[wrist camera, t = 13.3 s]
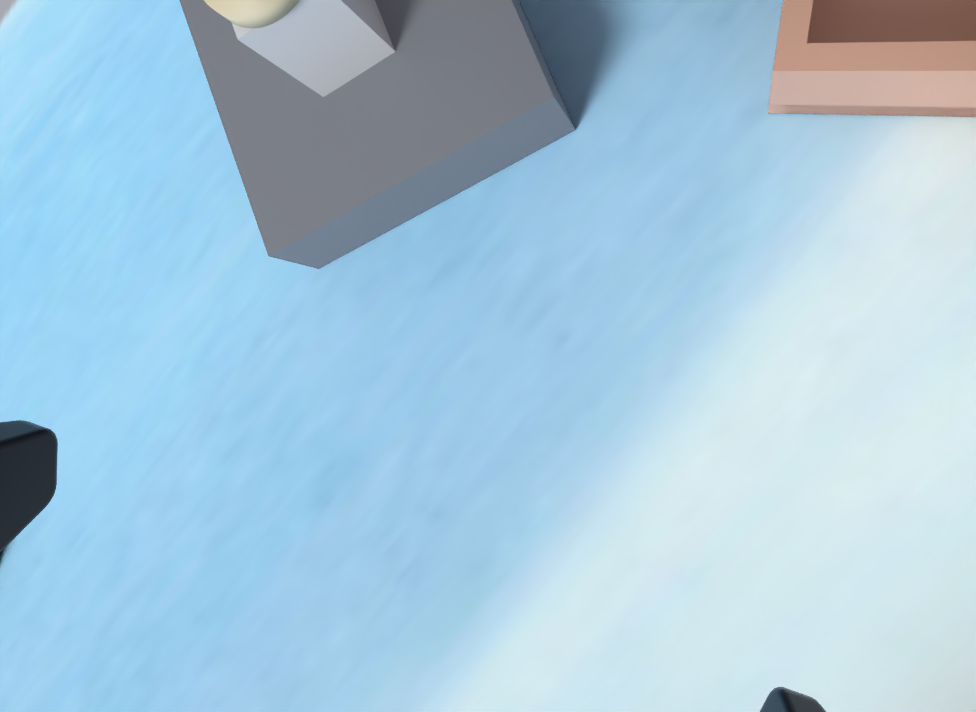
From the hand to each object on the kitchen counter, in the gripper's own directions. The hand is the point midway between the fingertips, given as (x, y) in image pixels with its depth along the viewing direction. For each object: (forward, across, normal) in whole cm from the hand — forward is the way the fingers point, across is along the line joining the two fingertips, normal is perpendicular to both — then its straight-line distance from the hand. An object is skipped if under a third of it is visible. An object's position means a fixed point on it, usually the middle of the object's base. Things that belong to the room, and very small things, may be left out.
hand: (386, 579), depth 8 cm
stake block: (+15, +7, -5) cm, 17 cm away
